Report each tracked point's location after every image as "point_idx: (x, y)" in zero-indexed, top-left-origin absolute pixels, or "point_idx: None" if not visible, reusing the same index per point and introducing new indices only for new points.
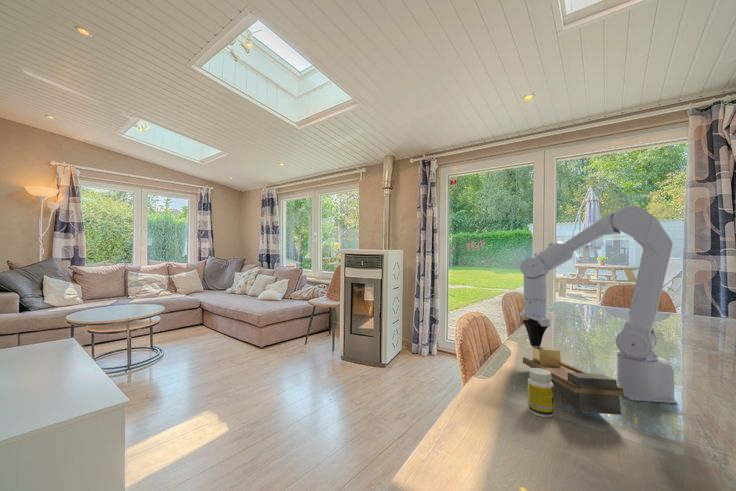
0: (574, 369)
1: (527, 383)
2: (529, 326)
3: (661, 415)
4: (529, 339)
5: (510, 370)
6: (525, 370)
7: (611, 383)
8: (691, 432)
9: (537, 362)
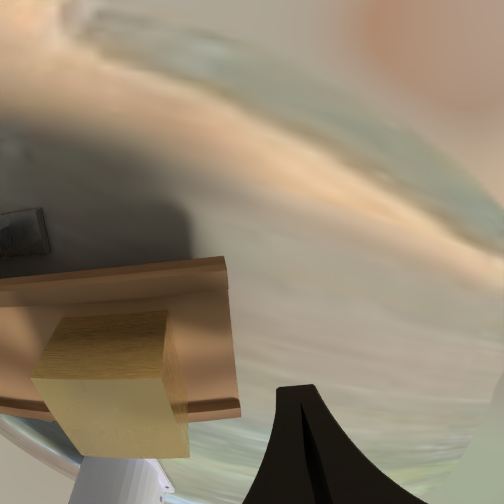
0: (34, 408)
1: (32, 209)
2: None
3: (36, 431)
4: (320, 412)
5: (201, 163)
6: (222, 251)
7: None
8: (3, 423)
9: (93, 321)
